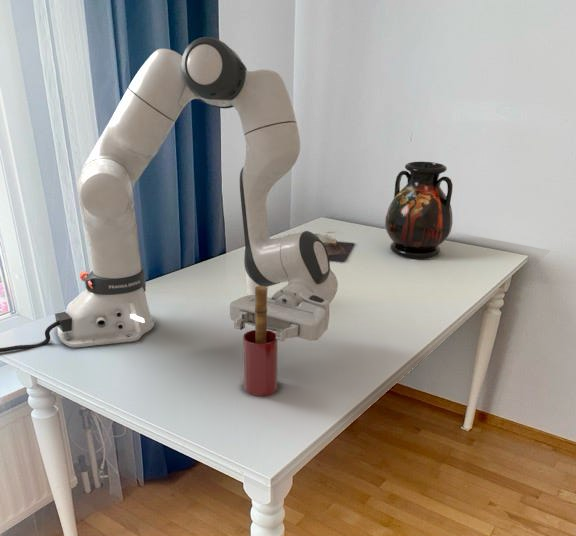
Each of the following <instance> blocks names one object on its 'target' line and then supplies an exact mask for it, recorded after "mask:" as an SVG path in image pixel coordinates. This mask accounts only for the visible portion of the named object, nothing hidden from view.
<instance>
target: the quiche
mask: <svg viewBox="0 0 576 536" xmlns="http://www.w3.org/2000/svg"><path fill="white" fill-rule="evenodd" d="M314 234H315V235H316V236H317V237H318V238H319V239H320V240H321V241H322V242H323V244H324V245H325V247H326V249H327V252H328V256H329V262H339V263H341V262H345V261H346V259H347V257H348V255H349V253H350V252H351V250H352V248H353V246H354V243H353V242H346V241H337V240H336V238H335V237H332V236H330V235H328V234H322V233H314Z"/></svg>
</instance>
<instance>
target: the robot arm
mask: <svg viewBox="0 0 576 536" xmlns="http://www.w3.org/2000/svg"><path fill="white" fill-rule="evenodd" d="M192 100H197V102H201V103H204V104H206V105H209V106H212V107H215V108H217V109H231V108H234V109H235V110H236V112H237V114H238V116H239V118H240V123H241V127H242V130H243V135H244V140H245V160H244V164H243V165H244V166H242V168H241V170H240V173H239V194H240V195H239V196H240V203H241V205H240V207H241V215H242V216H241V217H242V227H243V234H244V236H243V237H244V247H245V257H244V256H243V262H244V271H245V270H246V272H247V274H248V276H249V277H250V278H251V279H252V280H253V281H254V282H255V283H257V284H258V285H260V286H265V287H268V288H269V287H272V286H275V285H278V284H280V283H286V282H287V285H285V286H283V287H281V289H279V290H277V291H276V292H275V293H274V294H273V295H272V297H270V298H269V297H267V330H269V331H272V332H275V334H276V337H275V338H276V339H277V340H278V341H281V342H284V341H285V340H286V339H293V338H298V339H299V338H300V339H303V340H306V341H318V340H319V339H321V337H322V336H323V335H324V334H325V333H326V331H328V328H329V322H330V304H331V303H332V302H333V300H334V299H335V297H336V295H337V293H338V289H339V282H338V279H337V276H336V274H335V273H334V272H333V270H332V269H331V263H330V262H331V261H329V256H328V252H327V249H326V247H325V245H324V244H323V242H322V241H321V240H320V239H319V238H318V237H317V236H316V235H315V234H316V233H314V232H312V231H309V230H304V231H300V232H295V233H290V234H287V235H284V236H280V237H275V238H271V237H270V235H269V225H268V224H269V223H268V213H267V198H268V195H269V192H270V190H271V189H272V188H273V187H274V186H275V184H276V183H277V182H278V181H280V180H281V179H282V178H283V177H284V176H286V175H287V174H288V173H289V172H290V171H291V169H292V168H294V165H295V164H296V162H297V161H298V158H299V156H300V153H301V137H300V136H301V135H300V131H299V127H298V123H297V118H296V114H295V110H294V106H293V103H292V100H291V98H290V94H289V91H288V89H287V86H286V84H285V81H284V80H283V77H282V76H281V75H280V74H279V73H278V72H276V71H274V70H270V69H257V70H254V71H253V70H248V69H247V67H246V65H245V64H244V62H243V61H242V59H241V57H240V56H239V55H238V53H237V52H236V51H235V50H234V49H233V48H231V47H229V45H227V43H225V42H224V41H222V40H220V39H218V38H215V37H210V36H203V37H199V38H197V39H194V40H192V42H190V43H189V44H188V45H187V47H186V48H185V50H184V52H183V54H182V55H181V54H180V53H178V52H177V51H175V50H172V49H170V48H158V49H156V50H154V51H153V52H152V53H151V54H150V55H149V57H147V59H146V60H145V61H144V63H143V64H142V65H141V66H140V68H139V69H138V71H137V73H136V74H135V76H134V77H133V79H132V80H131V82H130V83H129V85H128V87H127V89H126V91H125V92H124V94H123V96H122V97H121V100H120V101H119V103H118V104H117V107H116V109H115V110H114V112H113V114H112V116H111V118H110V119H109V121H108V122H107V125H106V126H105V128H104V130H103V132H102V134H101V135H100V137H99V139H98V140H97V142H96V144H95V146H94V147H93V148H92V151H91V152H90V154H89V156H88V157H87V159H86V161H85V163H84V164H83V166H82V170H81V173H80V175H79V178H78V181H77V195H78V201H79V206H80V211H81V216H82V221H83V226H84V229H85V233H86V238H87V243H88V250H89V256H90V263H91V271H90V272H89V273H88V272H87V270H82V271H80V273H79V275H78V276H79V278H80V279H81V281H83V282H84V284H85V289H84V290H82V292H80V293H79V294H78V295H77V296H76V297H75V298H73V300H71V301H70V302H69V303H68V305H67V306H66V309H65V311H60V312H57V313H54V317H55V321H54V322H53V323H51V324H50V325H48V326H47V327H46V329H44V330H45V331H44V336H45V339H44V340H42V341H41V342H39V343H35V344H19V345H11V346H4V347H0V353H6V352H12V351H19V350H30V349H35V348H39V347H43V346H46V345H47V344H48V343H50V341H51V334H50V332H51V331H52V330H53V329H55V328H56V327H57V337H58V339H59V341H60V342H61V343H63V344H64V345H65V346H67V347H69V348H74V349H75V348H84V347H85V348H86V347H92V346H93V347H94V346H103V345H111V344H122V343H130V342H137V341H139V340H140V339H141V338H142V336H143V335H144V334H147V333H148V332H150V331H151V330H152V329H153V327H155V321H154V317H153V316H152V314H151V311H150V306H149V304H148V300H147V296H146V292H147V289H146V287H147V283H146V274H145V271H144V268H142V259H141V252H140V251H141V250H140V242H139V241H140V240H139V233H138V225H137V224H138V223H137V217H136V208H135V198H134V187H135V185H136V184H137V182H138V180H139V179H140V177H141V176H142V175H143V173H144V172H145V170H146V169H147V167H148V166H149V165H150V163H151V162H152V160H153V159H154V158H155V156H156V155H157V154H158V152H159V150H160V149H161V147H162V145H163V143H164V142H165V140H166V139H167V137H168V135H169V133H170V132H171V130H172V128H173V126H174V125H175V123H176V121H177V119H178V118H179V116H180V115H181V113H182V111H183V109H184V108H185V107H186V105H187V104H188V103H189V102H191V101H192ZM229 316H230V320H231V321H233V329H235V330H239V331H242V330H243V329H245V328H246V325H250V326H253V327H255V295H248V296H247V295H244V296H242V297H240V298H237V299H235V300H233V301H231V302H230V303H229Z"/></svg>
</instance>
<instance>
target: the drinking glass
mask: <svg viewBox="0 0 576 536" xmlns="http://www.w3.org/2000/svg"><path fill="white" fill-rule="evenodd" d="M244 257H245V246H244V249H243V258H244ZM244 273H245V283H246V291H247V292H246V293H247V294H246V296H248V295H255V287H257V286H260V285H258V284H257V283H255V282H254V281H253V280H252V279H251V278H250V277H249V276H248V274H247V272H246V270H245V269H244ZM266 288H267V294H268V291H269V286H268V287H266Z"/></svg>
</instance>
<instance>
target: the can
mask: <svg viewBox="0 0 576 536" xmlns="http://www.w3.org/2000/svg"><path fill="white" fill-rule="evenodd" d="M275 337H276V332H275V331H272V330H268V329H267V343H266V344H256V342H255V329H252V330H249V331H246V332H245V333H244V334H243V336H242V344H243V345H242V348H243V349H242V350H243V351H242V353H243V354H242V355H243V389H244V391H245V392H246V393H247V394H249V395H252V396H256V397H265V396H269V395H272V394H274V393H275V392H276V391H277V389H278V363H279V362H278V359H279V357H278V355H279V354H278V353H279V352H278V347H279V340H277V339H276V338H275Z"/></svg>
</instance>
